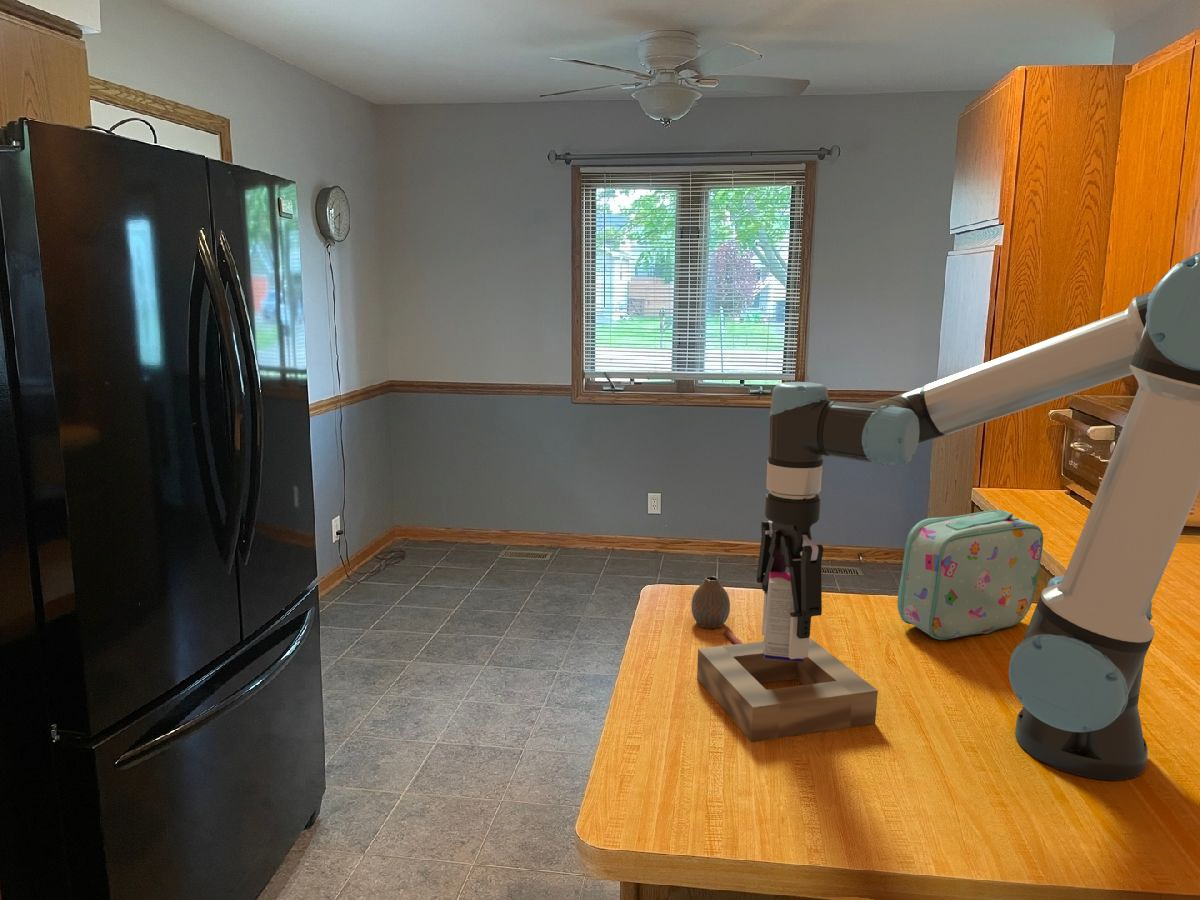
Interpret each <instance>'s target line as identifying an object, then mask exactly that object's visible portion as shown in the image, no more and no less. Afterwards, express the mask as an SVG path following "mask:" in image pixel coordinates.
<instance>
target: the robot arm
mask: <svg viewBox="0 0 1200 900" xmlns="http://www.w3.org/2000/svg"><path fill="white" fill-rule="evenodd" d="M1129 303H1130V304H1129V305H1128V307H1127V308H1126V309H1125V310H1123V311H1119V312H1117V313H1114V314H1112V315H1109V316H1106V317H1104V318H1101V319H1098V320H1095V321H1093V322H1090V323H1088V324H1085V325H1082V326H1079V327H1076V328H1075V329H1071V330H1069V331H1066V332H1064V333H1060V334H1059V335H1055V336H1051V337H1050V338H1047V339H1044V340H1043V341H1039V342H1037V343H1034V344H1031V345H1029V346H1026V347H1024V348H1021V349H1019V350H1015V351H1012V352H1010V353H1007V354H1004V355H1002V356H1000V357H997V358H994V359H992V360H989V361H986V362H983V363H980V364H979V365H975V366H973V367H970V368H968V369H965V370H963V371H960V372H957V373H955V374H952V375H949V376H946V377H943V378H941V379H938V380H935V381H933V382H930V383H928V384H925V385H923V386H920V387H917V388H914V389H911V390H909V391H905V392H903V393H901V394H897V395H895V396H891V397H888V398H885V399H884V398H883V399H881V400H876V401H874V402H873V401H872V402H868V403H860V402H848V401H847V402H846V401H837V400H833V399H829V395H828V394H829V393H828V392H829V391H828V388H827V386H826V385H824V384H823V383H816V382H809V381H806V382H805V381H785V382H780V383H778V384H776V385H775V386H774V387H773V389H772V394H771V403H770V411H769V413H768V417H769V436H768V438H769V439H768V455H767V467H766V482H765V483H766V485H765V489H767V490H768V492H767V493H766V494H765V506H764V507H765V508H764V516H765V518H766V519H767V520H763V521H761V523H760V527H761V537H760V539H761V540H760V549H759V555H758V556H759V557H758V563H757V572H756V582H757V583H758V584H761V590H762V592H763V608H762V609H763V610H762V627H761V628H762V629H761V635H762V636H764V630H765V618H766V607H767V595H768V582H769V572H785V573H786V570H787V568H788V570H789V572H788V573H790V579H791V587H792V595H793V603H794V610H795V612H792V613H790V615H791V620H790V637H789V654H788V657H789V658H790V659H797V658H805V657H808V651H809V637H811V627H812V626H811V625H812V624H811V623H812V617H816V616H817V617H819V616H822V614H823V613H822V612H823V610H822V609H823V606H822V605H823V604H822V602H823V600H822V596H823V594H822V590H823V589H822V561H823V560H822V559H823V554H824V546H823V545H822V544H815V543H814V542H813V540H812V539H813V538H812V533H811V527H812V526H813V525H814V524H816V523H817V522H819V520H820V514H821V513H820V512H821V510H820V509H821V497H820V495H819V493H821V491H822V474H823V473H824V470H823V465H824V463H823V462H824V457H825V456H826V457H833V458H839V459H845V460H846V459H847V460H853V461H860V462H866V463H867V462H868V463H872V464H876V465H880V466H884V465H889V466H891V465H892V466H904V465H907V464H908V463H909V462H911V460H912V459H913V456H914V455H916V452H917V450H918V449H917V448H918V446H919V445H921V444H925V443H927V442H930V441H932V440H935V439H939V438H941V437H944V436H947V435H950V434H953V433H956V432H959V431H963V430H965V429H969V428H972V427H975V426H978V425H981V424H983V423H988V422H990V421H993V420H995V419H1000V418H1002V417H1005V416H1009V415H1011V414H1016V413H1018V412H1021V411H1024V410H1027V409H1030V408H1034V407H1036V406H1039V405H1042V404H1045V403H1048V402H1049V403H1050V402H1052V401H1054V400H1057V399H1060V398H1061V399H1062V398H1064V397H1068V396H1070V395H1074V394H1077V393H1080V392H1082V391H1086V390H1089V389H1092V388H1095V387H1098V386H1100V385H1105V384H1108V383H1111V382H1113V381H1117V380H1120V379H1123V378H1125V377H1129V376H1132V375H1133V376H1134V377H1135V379H1136V381H1137V383H1138V389H1137V390H1136V394H1135V396H1134V398H1133V400H1132V402H1131V403H1132V404H1131V406H1130V409H1129V410H1128V414H1127V416H1126V419H1125V421H1124V423H1123V426H1122V429H1121V432H1120V434H1119V436H1118V438H1117V442H1116V444H1115V446H1114V449H1113V451H1112V455H1111V457H1110V459H1109V462H1108V464H1107V466H1106V469H1105V472H1104V474H1103V477H1102V479H1101V482H1100V484H1099V487H1098V488H1097V492H1096V495H1095V497H1094V500H1093V503H1092V504H1091V508H1090V509H1089V512H1088V515H1087V517H1086V520H1085V522H1084V525H1083V527H1082V529H1081V532H1080V536H1079V537H1078V541H1077V543H1076V546H1075V548H1074V551H1073V553H1072V556H1071V558H1070V560H1069V563H1068V565H1067V569H1066V570H1065V572H1064V575H1058V576H1054V577H1052V578H1050V580H1048V582H1047V586H1046V587H1045V588H1043V589H1042V591H1041V593H1040V595H1039V598H1038V601H1037V603H1036V606H1035V609H1034V611H1033V614H1032V616H1031V618H1030V621H1029V623H1028V626H1027V628H1026V632H1025V633H1024V636H1023V637H1022V640H1021V641H1020V642H1019V643H1018V644H1017V646H1016V647H1015V648H1014V649H1013V651H1012V653H1011V654H1010V658H1009V659H1010V661H1009V665H1008V679H1009V683H1010V686H1011V689H1012V692H1013V693H1014V694H1015V696H1016V697H1017V699H1018V701H1019V703H1020V704H1021V705H1022V706H1023V707H1022V708H1021V710H1020V711H1019V713H1018V715H1017V717H1016V721H1015V728H1014V729H1015V730H1014V731H1015V732H1014V737H1015V739H1016V742H1017V743H1018V745H1020V747H1021V748H1022V749H1023V750H1024V751H1025V752H1027V753H1028V754H1029V755H1030V756H1032V757H1034V758H1035V759H1037V760H1039V761H1040V762H1042V763H1044V764H1046V765H1048V766H1051V767H1052V768H1054V769H1057V770H1060V771H1063V772H1066V773H1069V774H1072V775H1076V776H1080V777H1083V778H1084V777H1085V778H1089V779H1096V780H1103V781H1122V780H1123V781H1125V780H1129V779H1130V780H1131V779H1134V778H1137V777H1139V776H1140V775H1143V772H1144V771H1145V770H1146V767H1147V761H1148V754H1149V751H1148V745H1147V741H1146V739H1145V738H1144V734H1143V727H1142V722H1141V721H1142V720H1141V717H1140V711H1139V708H1138V707H1139V698H1140V693H1141V685H1142V678H1143V673H1144V672H1143V671H1144V663H1145V659H1146V658H1145V657H1146V656H1147V653H1148V650H1149V649H1150V646H1151V644H1152V642H1153V639H1154V637H1155V634H1156V633H1155V629H1154V628H1153V627H1154V626H1153V625H1152V624H1151V620H1153V614H1152V606H1153V603H1152V600H1153V598H1154V595H1156V592H1157V591H1156V590H1157V589H1158V586H1159V584H1160V582H1161V579H1162V578H1163V576H1164V572H1165V571H1166V568H1167V566H1168V563H1169V561H1170V559H1171V557H1172V554H1173V552H1174V549H1175V547H1176V545H1177V543H1178V540H1179V539H1180V537H1181V534H1182V531H1183V529H1184V528H1185V525H1186V522H1187V520H1188V518H1189V516H1190V513H1191V511H1192V509H1193V507H1194V505H1195V502H1196V501H1197V500H1196V499H1197V497H1198V496H1199V492H1200V251H1199V252H1197V253H1195V254H1192V255H1190V256H1189V257H1186V258H1185V259H1182V260H1181V261H1180V262H1178V263H1176V264H1175V265H1174V266H1172V267H1171V269H1169V270H1168V271H1167V272H1165V274H1163V275H1162V277H1161V279H1160V280H1159V281H1158V282H1157V283H1156V284H1155V285H1154V287H1153V289H1152V290H1151V291H1149V292H1146V293H1143V294H1140V295H1138V296H1135V297H1133V298H1132V300H1131V301H1130V302H1129Z"/></svg>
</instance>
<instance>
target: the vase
mask: <svg viewBox="0 0 1200 900" xmlns="http://www.w3.org/2000/svg"><path fill="white" fill-rule="evenodd" d="M690 606H691V614H692V617H693V619H694V620H695V623H696V624H698V625H699V626H700V627H701V628H704V629H711V630H712V629H719V628H720V627H721V626H723V625H724V624H725V623H726V622H727V620H728V618H729V615H730V612H731V602H730V597H729V595H728V593H727V591H726V589H725V588H724V586H723V585H722V584H721V582H720V579H719V577H716V576H713V575H710V576H708V575H707V576H705V578H704V580H703V581H702V583H701V584H700V585H699V586H698V587H697V589H695V591H694V593H693V595H692V598H691V605H690Z"/></svg>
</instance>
